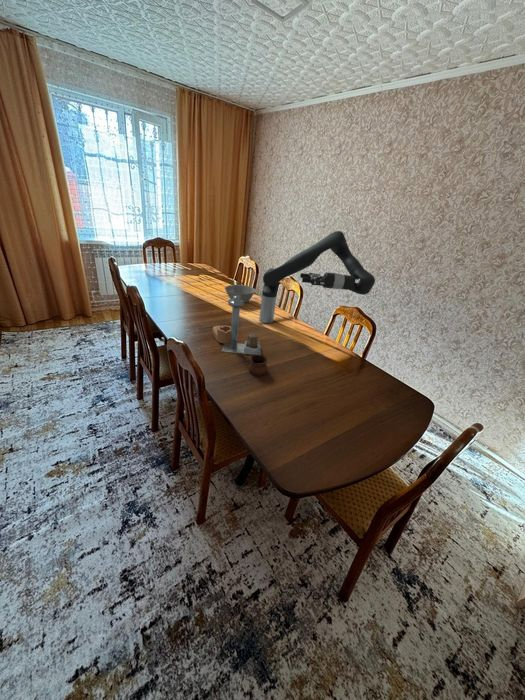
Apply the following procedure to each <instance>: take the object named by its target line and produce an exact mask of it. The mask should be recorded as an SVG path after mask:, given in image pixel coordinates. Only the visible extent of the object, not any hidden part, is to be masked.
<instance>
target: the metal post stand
mask: <svg viewBox="0 0 525 700" xmlns="http://www.w3.org/2000/svg"><path fill="white" fill-rule="evenodd" d="M240 298H241V297H240V296H233V299H230V298H229V299H228V300H227V304H228V305H229V306H232V309H231V323H230V324H231V326H230V327H231V340H230V343H223V346H222V349H221V352H222V353H233V354H240V355H241V354H242V355H252V356H254V355H259V356H262V345H260V341H257V348H252V347H247V343H248V340H245V341H244V343H238V341H239V339H238V338H239V323H240V310H241V307H243V306H246V305H245V304H246V303H245V302H244V301H243V300H240Z"/></svg>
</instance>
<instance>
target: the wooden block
mask: <svg viewBox="0 0 525 700" xmlns="http://www.w3.org/2000/svg"><path fill="white" fill-rule="evenodd" d="M247 341H248V343H247V347H252V348H257V342H258V336H257V334H256V333H250V334H248V335H247Z"/></svg>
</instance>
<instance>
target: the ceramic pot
mask: <svg viewBox="0 0 525 700" xmlns="http://www.w3.org/2000/svg"><path fill="white" fill-rule="evenodd" d="M267 362H268V358H267V357H266V356H264V355H252V356H251V357H250V363H249V364H248V370H249V373H251V374H252V375H253V376H258V377H259V376H260V377H261V376H264V375H266V373H267V371H268V365H267ZM238 372H239V374H240V372H241V371H238Z"/></svg>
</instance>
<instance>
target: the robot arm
mask: <svg viewBox="0 0 525 700" xmlns="http://www.w3.org/2000/svg"><path fill="white" fill-rule="evenodd" d="M328 250H330V251H332V253H333V254H335V255H336V257H338V258H339V260H341V261H340V262H342V264H343V265H344V267H345V269H346V271H347V272H348V274H349V275H348V274H342V273H336V272H335V273H333V272H325V273H324V274H323V275H321V274H320V273H314V272H308V273H304V272H303V273H300V275H299V277H300V279H301V282H302V283H308V284H311V286H321V287H322V288H324V289H333V290H346V291H351V292H353V293H356V294H358V295H367V294H369V293H370V292H371V290H372V288H373V286H374V285H375V284H376V279H375V276H374V275H373V274H372V273H371V272H369V271H368V270H367V269H365V268H364V267H363V265H362V264H361V263H360V261H359V260H358V259H357V258H356V257H355V256H354V254H352V252H351V250H350V248H349V246H348V243H347V239H346V237H345V234H344V233H343V231H340V230H336V231H333V232H331V233H330V234H328V235H326V236H325V237H324V238H322V239H321V240H320V241H318V242H316V243H314V244H313V245H311V246H310V247H308V248H306V249H305V250H302V251H300V252H299V253H296V254H295V255H294V256H292V257H290V258H289V259H288V260H287V261H285V262H284V263H282V264H281V265H280V266H278V267H275V268H274V267H272V268H268V270H266V271H265V272H264V274H263V277H262V282H263V287H262V291H261V301H260V311H259V320H258V321H260V322H261V323H264V324H272V323H274V318H275V311H276V310H275V309H276V302H277V295H278V291H279V285H280V282H281V281H283V280H285V278H287V277H290V276H291V275H294V274H297V273H298V272H300V271H301V272H302V270H304V269H307V268H309V267H310V266H312V265H313V264H314V263H315V261H316V260H317V259H318V258H319V256H321V254H323V253H324V252H326V251H328ZM356 280H357V281H358V280H359V281H358V282H357V281H356Z"/></svg>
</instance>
